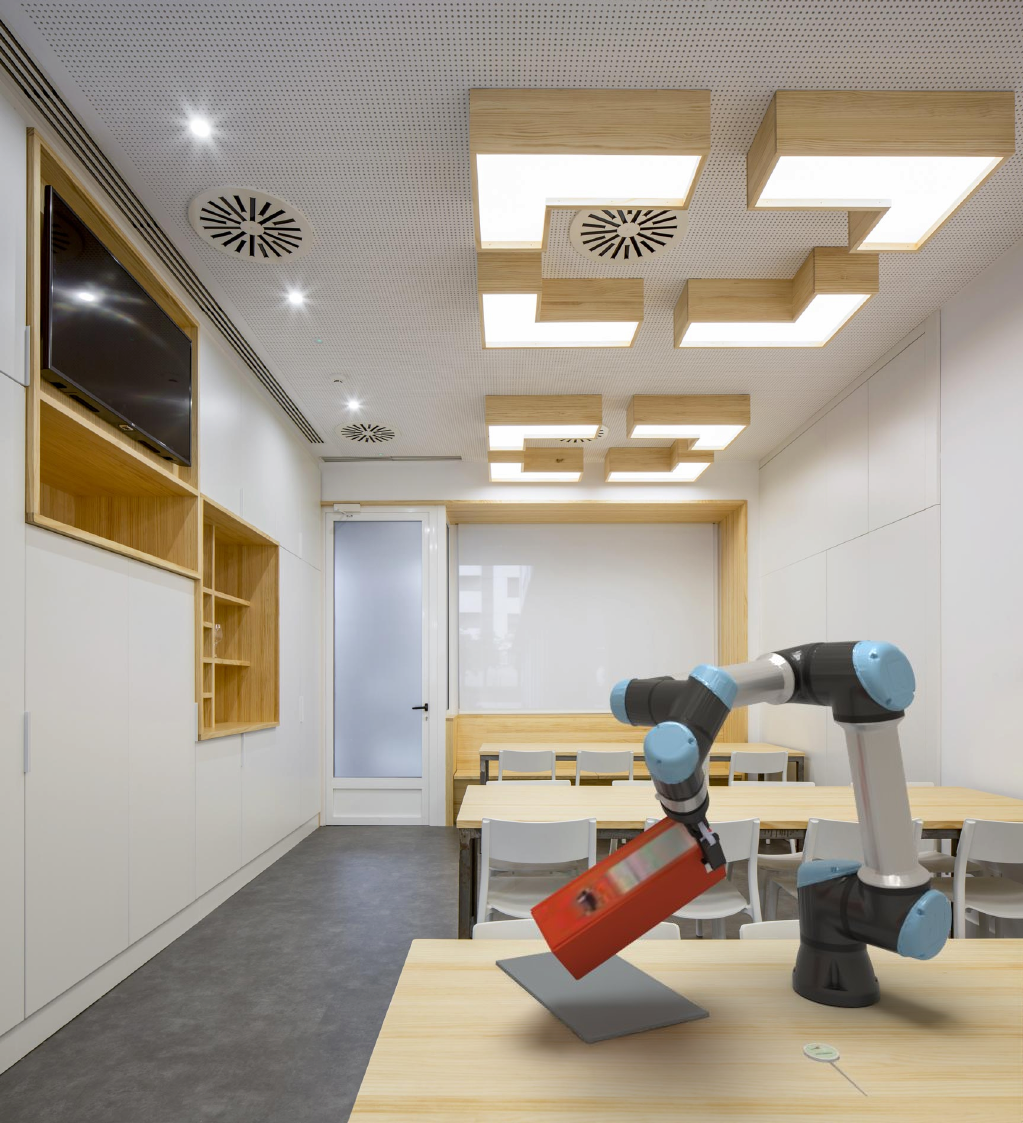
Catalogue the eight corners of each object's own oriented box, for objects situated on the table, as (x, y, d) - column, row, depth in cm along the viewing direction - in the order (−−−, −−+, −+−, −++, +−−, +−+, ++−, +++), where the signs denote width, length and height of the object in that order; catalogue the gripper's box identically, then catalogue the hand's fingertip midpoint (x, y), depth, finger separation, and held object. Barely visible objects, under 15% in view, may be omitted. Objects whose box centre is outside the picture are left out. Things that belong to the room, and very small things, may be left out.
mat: (598, 946, 175) (598, 943, 175) (709, 1016, 140) (708, 1012, 140) (495, 963, 165) (495, 960, 165) (587, 1043, 131) (587, 1039, 131)
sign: (849, 1095, 114) (797, 1044, 129) (849, 1102, 114) (797, 1049, 129) (883, 1092, 115) (828, 1041, 129) (883, 1099, 115) (828, 1047, 129)
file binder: (577, 983, 139) (727, 875, 144) (553, 954, 127) (718, 838, 131) (554, 941, 145) (699, 839, 149) (528, 910, 132) (687, 799, 137)
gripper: (626, 754, 131) (648, 813, 147) (701, 859, 117) (716, 910, 133) (665, 729, 131) (683, 790, 148) (743, 830, 118) (753, 885, 134)
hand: (698, 847), depth 141 cm, fingers closed on file binder, 7 cm apart
